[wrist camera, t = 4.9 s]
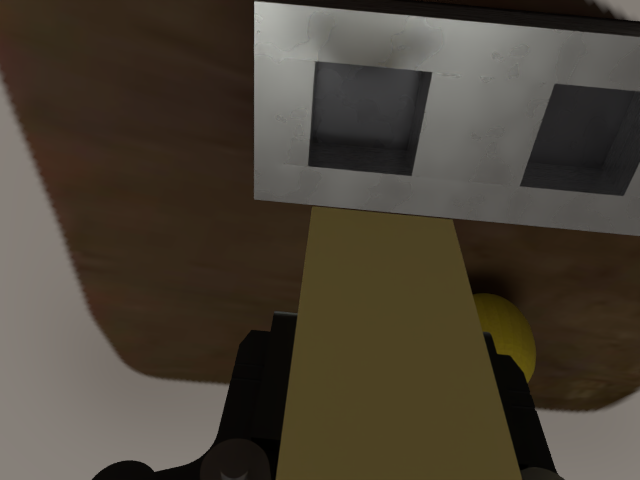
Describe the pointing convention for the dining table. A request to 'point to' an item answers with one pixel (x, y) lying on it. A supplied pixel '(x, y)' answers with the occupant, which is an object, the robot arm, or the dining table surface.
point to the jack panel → (449, 112)
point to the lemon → (507, 330)
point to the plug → (390, 358)
